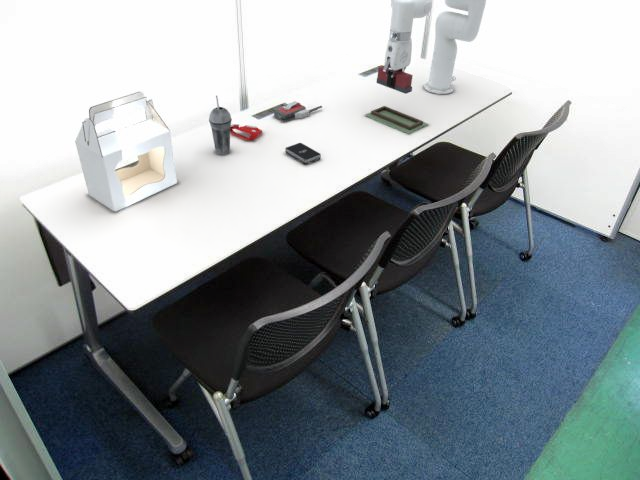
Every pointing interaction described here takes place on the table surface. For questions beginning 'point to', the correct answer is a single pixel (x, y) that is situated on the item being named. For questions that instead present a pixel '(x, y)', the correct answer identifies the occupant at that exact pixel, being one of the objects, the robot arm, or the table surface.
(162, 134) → the gable box
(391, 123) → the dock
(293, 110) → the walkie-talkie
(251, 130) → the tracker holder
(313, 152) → the external hard drive
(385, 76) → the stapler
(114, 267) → the table surface
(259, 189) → the table surface
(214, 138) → the beverage cup
